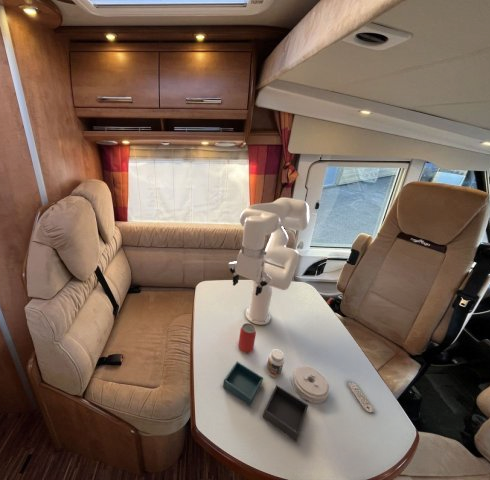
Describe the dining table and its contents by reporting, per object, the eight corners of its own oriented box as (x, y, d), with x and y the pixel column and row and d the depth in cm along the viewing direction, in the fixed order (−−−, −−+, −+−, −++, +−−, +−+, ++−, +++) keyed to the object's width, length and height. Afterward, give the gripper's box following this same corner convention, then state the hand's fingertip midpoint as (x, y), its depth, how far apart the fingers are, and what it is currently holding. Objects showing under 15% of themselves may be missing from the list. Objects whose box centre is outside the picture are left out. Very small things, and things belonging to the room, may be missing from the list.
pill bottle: (263, 371, 95) (267, 354, 91) (270, 361, 99) (274, 345, 95) (277, 380, 92) (281, 363, 87) (283, 370, 95) (287, 353, 91)
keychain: (375, 411, 81) (367, 411, 81) (374, 412, 82) (366, 412, 81) (354, 381, 91) (347, 382, 91) (354, 382, 91) (346, 383, 91)
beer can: (253, 355, 102) (257, 335, 96) (237, 352, 103) (240, 332, 98) (252, 343, 107) (256, 323, 102) (238, 340, 109) (241, 321, 103)
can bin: (274, 391, 88) (276, 384, 86) (305, 411, 82) (308, 404, 80) (262, 417, 80) (264, 410, 78) (296, 442, 74) (299, 435, 72)
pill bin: (236, 367, 96) (236, 361, 94) (261, 384, 90) (263, 377, 88) (223, 386, 89) (223, 380, 87) (250, 406, 83) (251, 399, 81)
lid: (283, 377, 93) (286, 369, 91) (308, 367, 97) (311, 359, 95) (308, 409, 82) (311, 401, 80) (334, 397, 86) (338, 388, 84)
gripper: (279, 253, 82) (271, 293, 89) (236, 240, 92) (231, 276, 99) (271, 262, 77) (263, 303, 84) (226, 246, 86) (222, 284, 94)
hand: (246, 288), depth 91 cm, fingers open, 9 cm apart
